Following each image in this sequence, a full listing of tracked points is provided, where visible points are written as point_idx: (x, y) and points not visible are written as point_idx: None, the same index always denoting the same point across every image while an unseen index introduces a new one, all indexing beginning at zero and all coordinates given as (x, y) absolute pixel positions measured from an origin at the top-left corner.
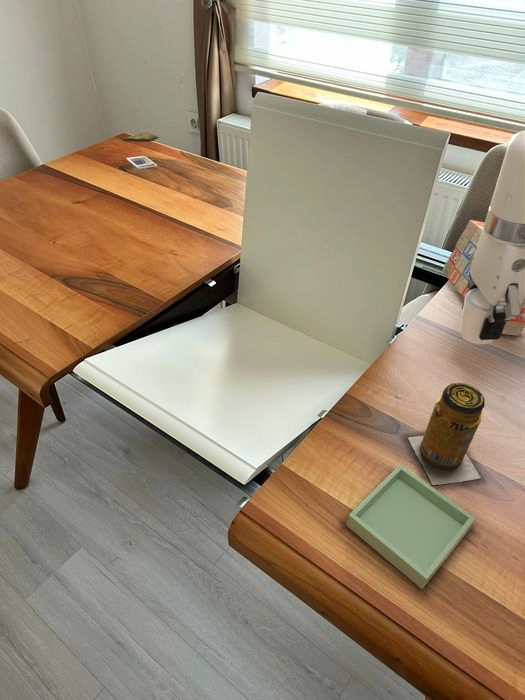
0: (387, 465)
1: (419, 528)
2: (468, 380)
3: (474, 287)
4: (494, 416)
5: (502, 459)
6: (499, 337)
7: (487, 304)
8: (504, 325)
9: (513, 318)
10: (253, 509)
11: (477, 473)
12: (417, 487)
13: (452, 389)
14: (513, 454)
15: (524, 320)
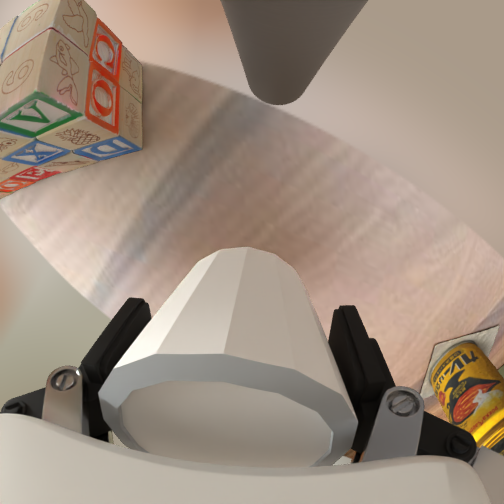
0: (436, 414)
1: None
2: (322, 273)
3: (106, 430)
4: (430, 259)
5: (493, 283)
6: (354, 308)
7: (271, 457)
8: (374, 352)
9: (486, 449)
10: None
11: (494, 328)
12: None
13: None
14: (494, 262)
15: (116, 52)
